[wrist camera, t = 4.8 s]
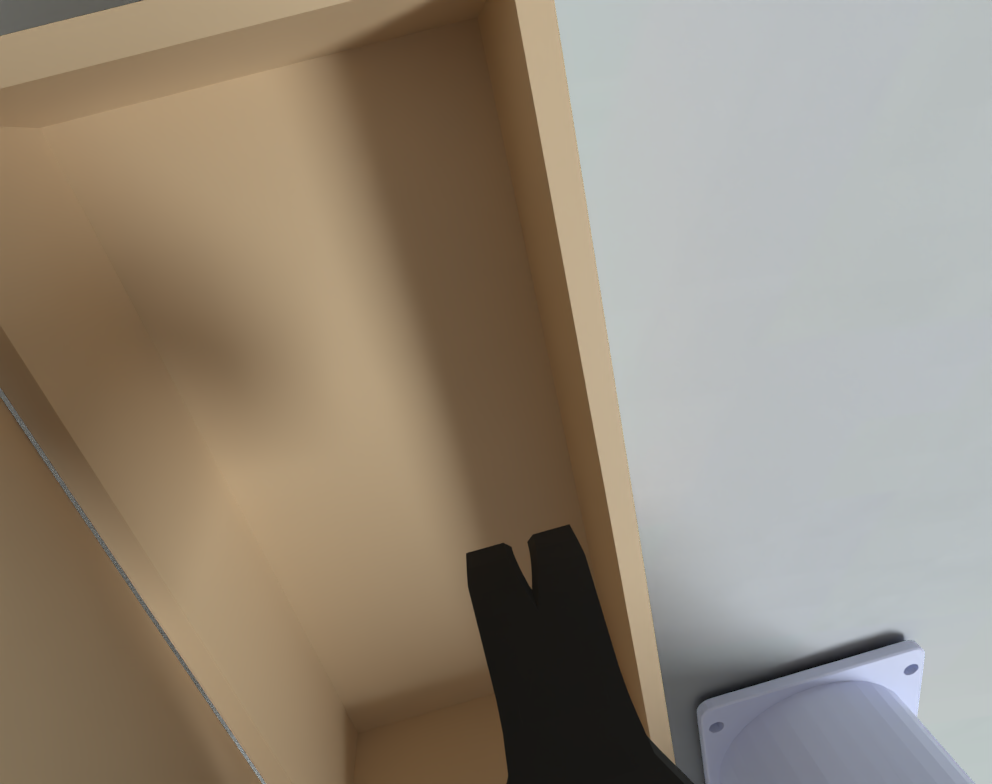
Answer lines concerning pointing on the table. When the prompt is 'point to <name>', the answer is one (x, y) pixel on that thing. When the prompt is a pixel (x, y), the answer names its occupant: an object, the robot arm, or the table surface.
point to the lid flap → (87, 654)
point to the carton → (319, 352)
